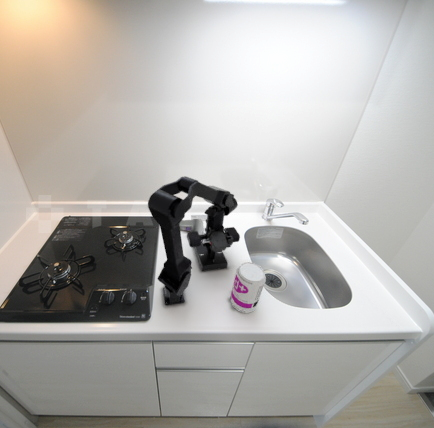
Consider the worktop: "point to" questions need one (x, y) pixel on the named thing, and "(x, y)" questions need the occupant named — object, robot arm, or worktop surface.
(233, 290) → the supplement can
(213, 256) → the stove knob
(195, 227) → the infrared thermometer
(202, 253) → the stove panel
